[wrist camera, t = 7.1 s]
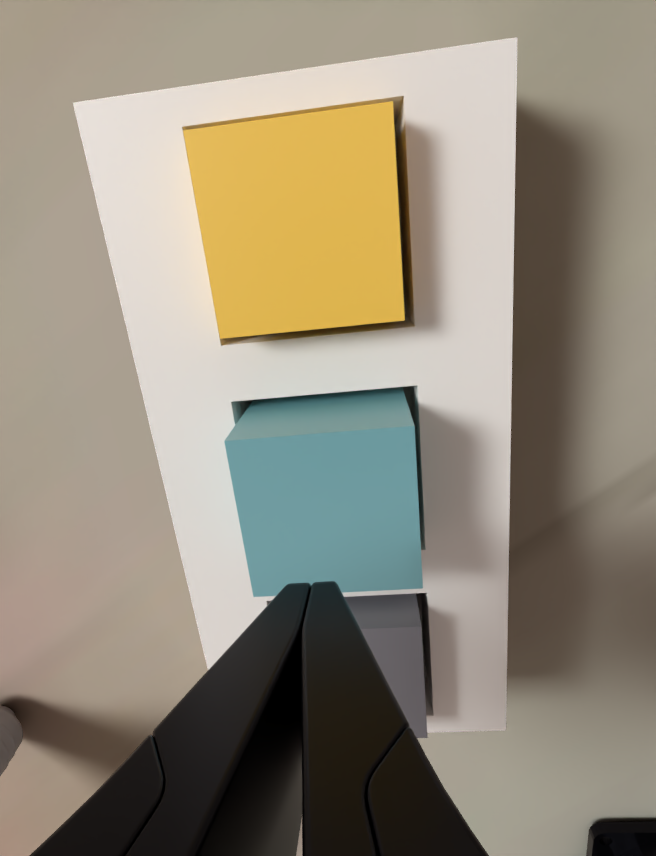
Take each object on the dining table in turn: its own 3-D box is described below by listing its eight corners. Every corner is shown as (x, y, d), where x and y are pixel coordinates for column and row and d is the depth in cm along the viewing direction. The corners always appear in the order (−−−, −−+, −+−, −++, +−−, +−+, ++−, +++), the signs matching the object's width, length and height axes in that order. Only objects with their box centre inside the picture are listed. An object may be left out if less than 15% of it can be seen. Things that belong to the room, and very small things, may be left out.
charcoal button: (409, 556, 16) (421, 626, 13) (415, 653, 17) (427, 737, 14) (288, 563, 16) (272, 633, 13) (302, 657, 18) (291, 740, 15)
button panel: (480, 85, 12) (517, 36, 10) (483, 656, 18) (505, 730, 15) (134, 134, 13) (72, 102, 10) (244, 665, 19) (224, 737, 16)
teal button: (401, 385, 13) (414, 426, 10) (409, 518, 14) (423, 588, 11) (254, 398, 14) (224, 441, 11) (274, 526, 15) (253, 597, 12)
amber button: (384, 138, 12) (392, 101, 9) (394, 304, 13) (404, 320, 10) (225, 159, 12) (183, 130, 9) (250, 319, 14) (219, 338, 11)
